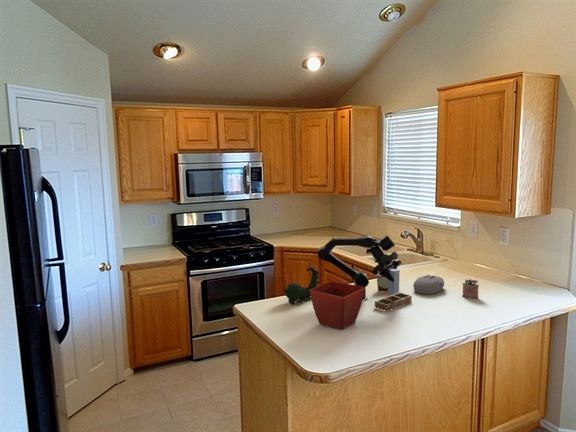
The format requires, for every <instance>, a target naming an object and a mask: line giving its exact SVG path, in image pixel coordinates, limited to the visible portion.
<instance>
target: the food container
mask: <svg viewBox="0 0 576 432" xmlns="http://www.w3.org/2000/svg"><path fill="white" fill-rule="evenodd" d="M379 273H380V272H378V274H376V275H375V278H376V285H377V291H388V279H387V278H385V277H383V276H381V275H379Z"/></svg>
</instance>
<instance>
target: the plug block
mask: <svg viewBox="0 0 576 432" xmlns="http://www.w3.org/2000/svg"><path fill="white" fill-rule="evenodd" d="M400 271H401V270H400V269H399V268H397V269H390V270H389V272H390V274H391V276H392V277H393V279H394V281H393V282H392V281H390V280H388V292H387V293H389V294H392V295H394V294H396V293H399V292H400Z"/></svg>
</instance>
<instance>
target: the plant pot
mask: <svg viewBox="0 0 576 432" xmlns="http://www.w3.org/2000/svg"><path fill="white" fill-rule="evenodd" d="M364 289H365V290H366V287H365V288H364V287H361V286H356V285H354V284H352V283H345V282H340V281H334V280H331V281H327V282H325V283H323V284H320V285H317V287H315V288H313V289H310V295H311V296H310V297H311V300H310V301H311V305H312V307H313V308H312V309H314V310H313V311H314V314H315V316H316V318H317V322H318V323H320V325H322V324H323V326H326V325H327V327H329V326H330V328H332V329H337V330H344V329H345V328H348V327H349V326H351V325H353V324H354V323H355V322H356V321H357V318H358V316H359V314H360V309H361V307H362V303H363V301H364V300H363V295H364ZM362 300H363V301H362ZM352 323H353V324H352ZM347 326H348V327H347Z"/></svg>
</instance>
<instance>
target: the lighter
mask: <svg viewBox="0 0 576 432" xmlns="http://www.w3.org/2000/svg"><path fill="white" fill-rule="evenodd" d="M478 281H479V280H476V279H471V278H470V279H465V281H464V282H463V283H462V296H461V297H462V298H466V299H473V300H478V299H479V286H480V285H479V284H478Z"/></svg>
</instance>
